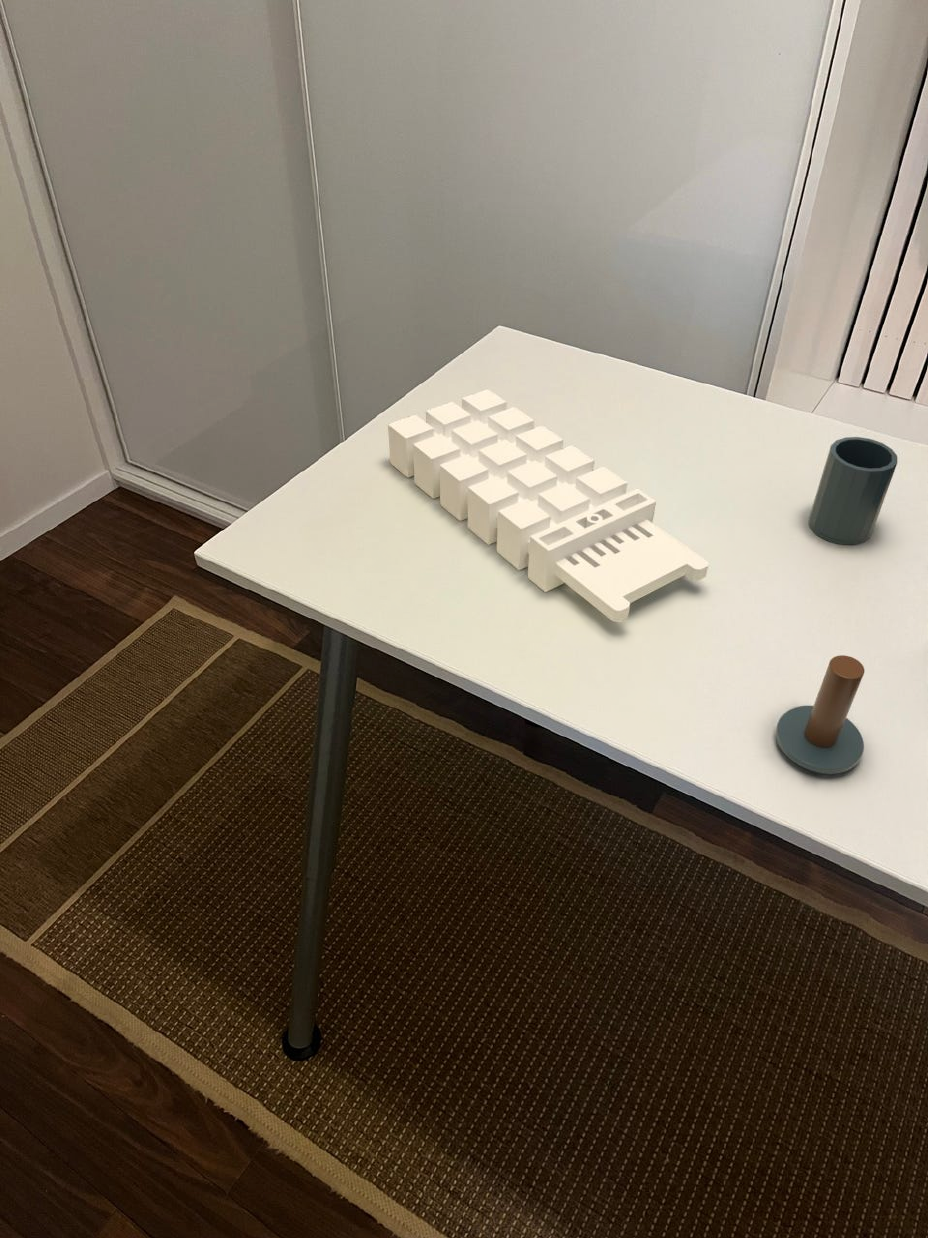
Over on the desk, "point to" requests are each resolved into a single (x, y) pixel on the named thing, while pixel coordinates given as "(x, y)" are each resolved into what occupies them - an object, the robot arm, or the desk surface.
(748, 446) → the desk surface
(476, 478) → the organizer
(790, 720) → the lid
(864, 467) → the tin
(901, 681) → the desk surface
